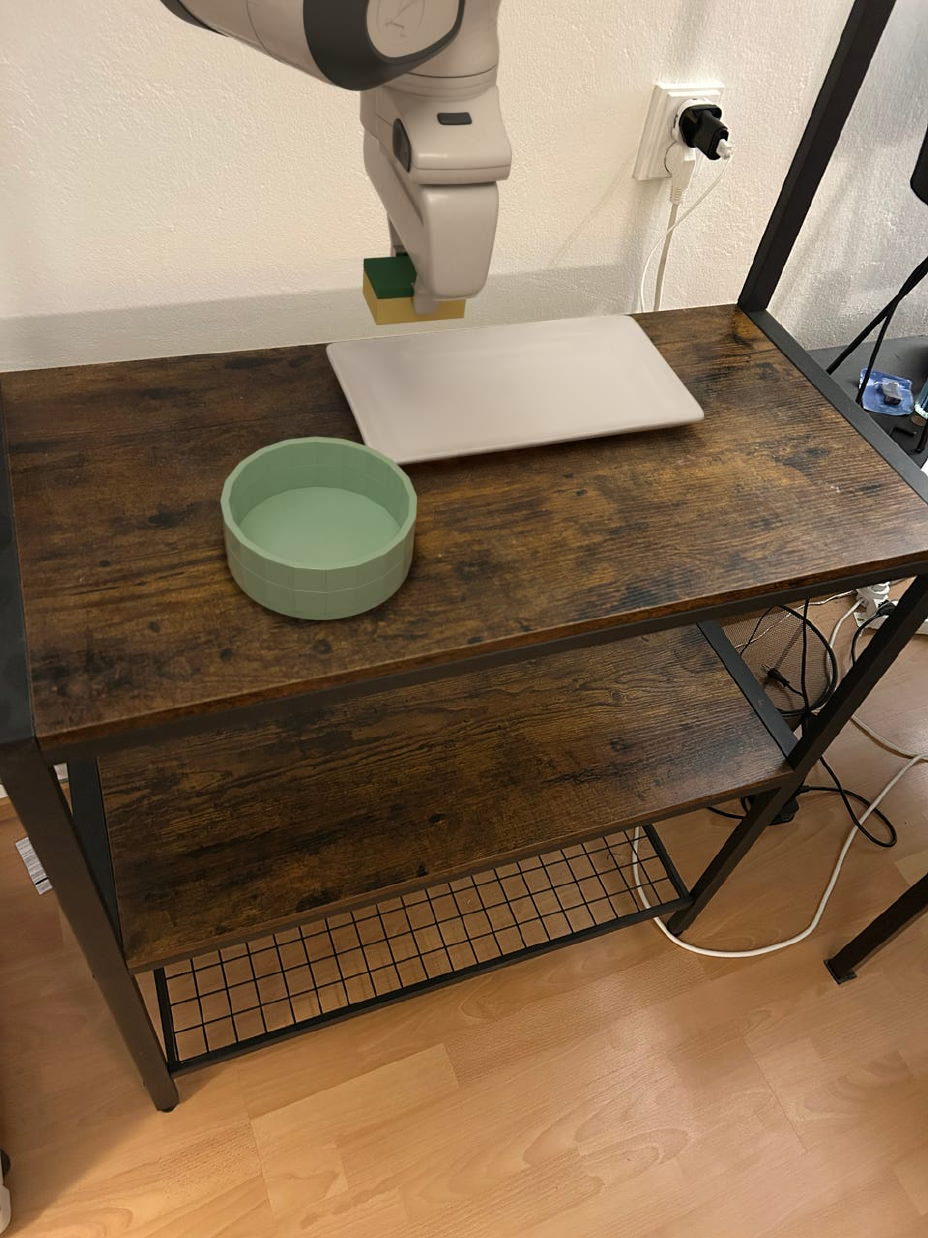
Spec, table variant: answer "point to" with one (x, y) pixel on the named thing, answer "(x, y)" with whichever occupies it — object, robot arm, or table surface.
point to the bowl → (318, 527)
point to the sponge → (399, 293)
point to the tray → (508, 387)
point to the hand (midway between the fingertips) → (413, 287)
